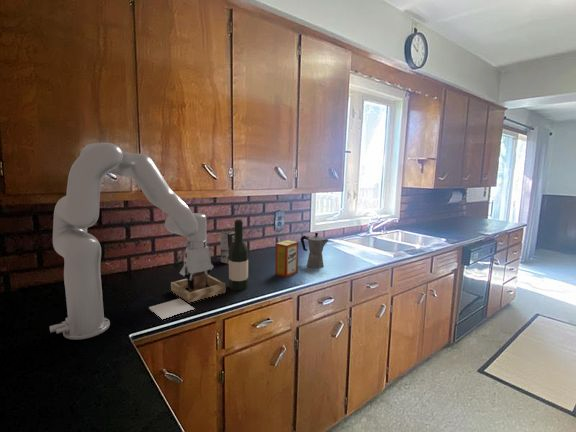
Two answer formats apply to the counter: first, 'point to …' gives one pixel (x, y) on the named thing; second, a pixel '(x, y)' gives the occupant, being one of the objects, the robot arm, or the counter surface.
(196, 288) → the walnut block
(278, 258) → the baking soda box
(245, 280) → the wine bottle
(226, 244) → the coffee box
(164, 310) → the stone pad
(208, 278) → the oak frame
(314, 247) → the coffeepot
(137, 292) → the counter surface
